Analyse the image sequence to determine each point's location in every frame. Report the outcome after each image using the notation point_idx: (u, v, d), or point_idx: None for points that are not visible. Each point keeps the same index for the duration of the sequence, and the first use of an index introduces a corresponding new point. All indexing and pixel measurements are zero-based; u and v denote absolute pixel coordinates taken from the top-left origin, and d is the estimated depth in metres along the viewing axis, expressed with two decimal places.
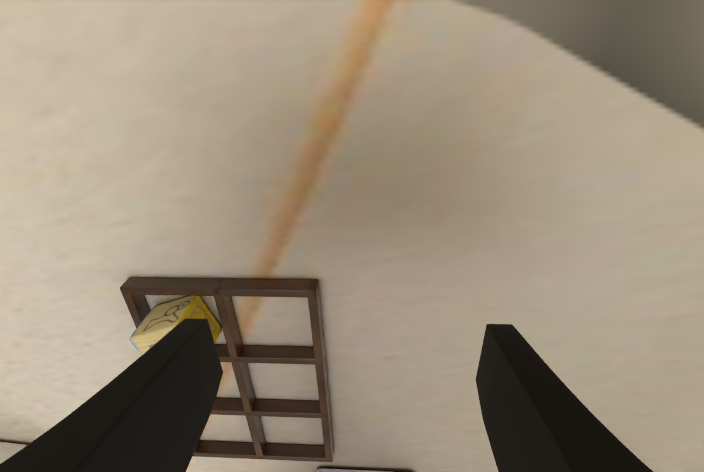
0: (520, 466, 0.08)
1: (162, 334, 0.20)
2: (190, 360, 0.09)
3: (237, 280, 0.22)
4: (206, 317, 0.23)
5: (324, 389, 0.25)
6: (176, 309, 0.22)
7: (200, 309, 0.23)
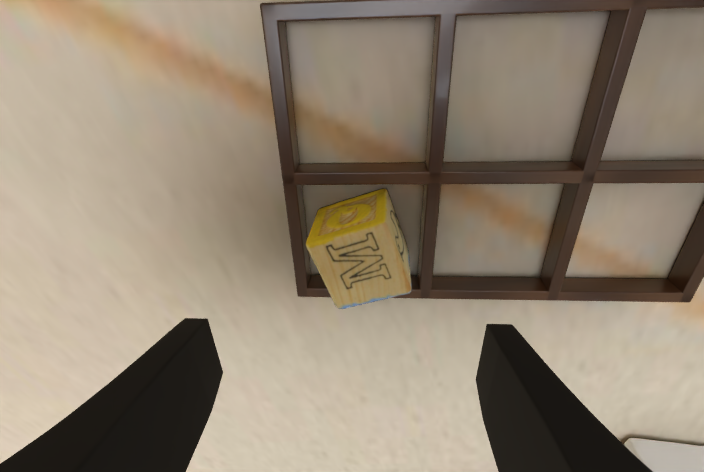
0: (520, 466, 0.08)
1: (322, 266, 0.14)
2: (190, 360, 0.09)
3: None
4: (351, 205, 0.15)
5: None
6: None
7: (335, 210, 0.15)
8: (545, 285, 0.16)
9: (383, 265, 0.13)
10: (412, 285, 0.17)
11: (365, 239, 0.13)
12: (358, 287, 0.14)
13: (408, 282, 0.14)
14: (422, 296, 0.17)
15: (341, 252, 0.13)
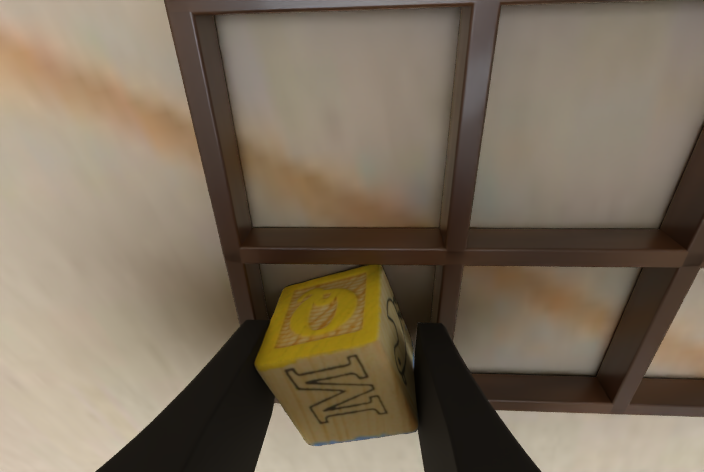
0: (434, 462, 0.08)
1: (281, 394, 0.09)
2: None
3: None
4: (329, 287, 0.10)
5: None
6: None
7: (305, 294, 0.10)
8: (606, 391, 0.12)
9: (374, 397, 0.09)
10: None
11: (345, 363, 0.08)
12: (336, 422, 0.09)
13: (414, 416, 0.09)
14: None
15: (308, 379, 0.08)
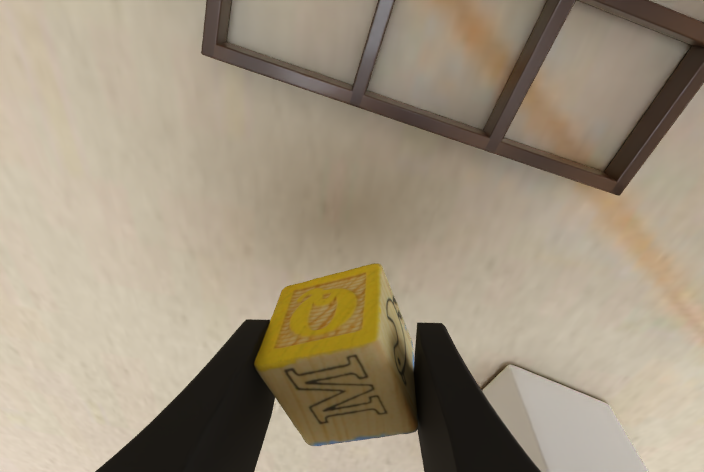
0: (433, 462, 0.08)
1: (281, 394, 0.09)
2: None
3: None
4: (329, 287, 0.10)
5: None
6: None
7: (305, 294, 0.10)
8: (487, 134, 0.14)
9: (374, 397, 0.09)
10: (344, 86, 0.14)
11: (345, 363, 0.08)
12: (336, 422, 0.09)
13: (413, 416, 0.09)
14: (352, 101, 0.14)
15: (307, 378, 0.08)
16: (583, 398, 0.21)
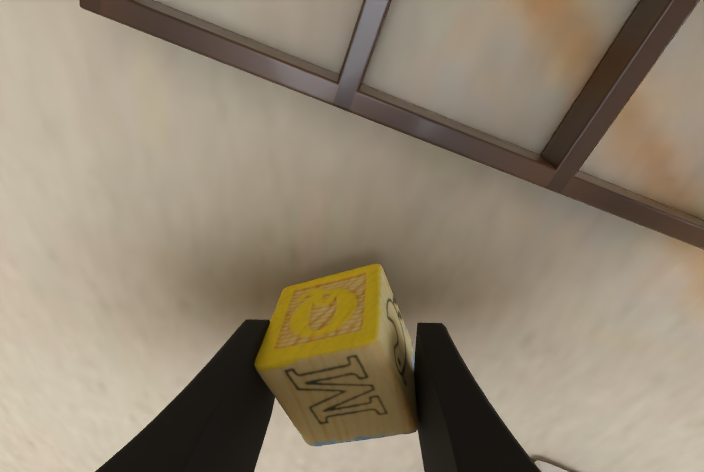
0: (434, 462, 0.08)
1: (281, 395, 0.09)
2: None
3: None
4: (329, 287, 0.10)
5: None
6: None
7: (305, 294, 0.10)
8: (550, 163, 0.09)
9: (374, 397, 0.09)
10: (325, 74, 0.08)
11: (345, 363, 0.08)
12: (336, 422, 0.09)
13: (413, 417, 0.09)
14: (337, 101, 0.08)
15: (308, 378, 0.08)
16: None
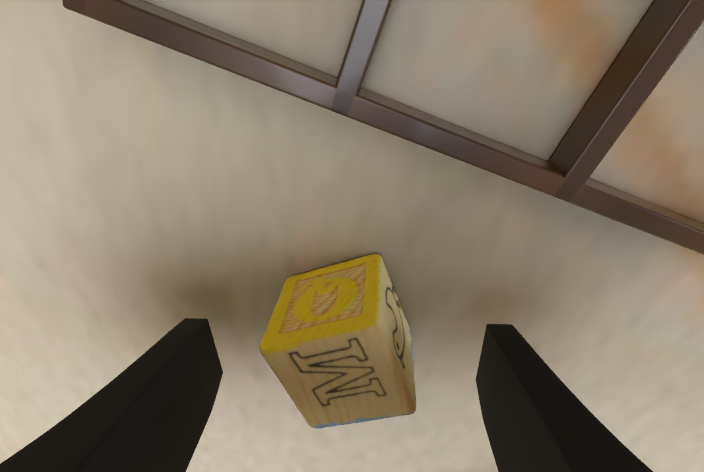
0: (520, 466, 0.08)
1: (285, 377, 0.09)
2: (190, 360, 0.09)
3: None
4: (330, 277, 0.11)
5: None
6: None
7: (308, 283, 0.11)
8: (558, 170, 0.09)
9: (374, 380, 0.09)
10: (323, 78, 0.08)
11: (347, 346, 0.09)
12: (338, 404, 0.10)
13: (411, 399, 0.09)
14: (335, 106, 0.08)
15: (311, 361, 0.09)
16: None
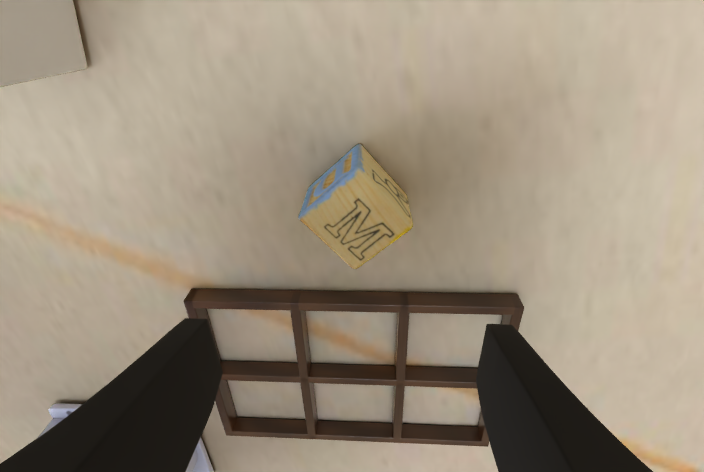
0: (520, 466, 0.08)
1: (391, 213, 0.14)
2: (190, 360, 0.09)
3: None
4: None
5: (356, 440, 0.24)
6: (397, 193, 0.15)
7: None
8: None
9: (337, 236, 0.14)
10: None
11: (363, 252, 0.15)
12: (348, 204, 0.14)
13: (305, 224, 0.14)
14: (406, 307, 0.18)
15: (379, 234, 0.14)
16: None
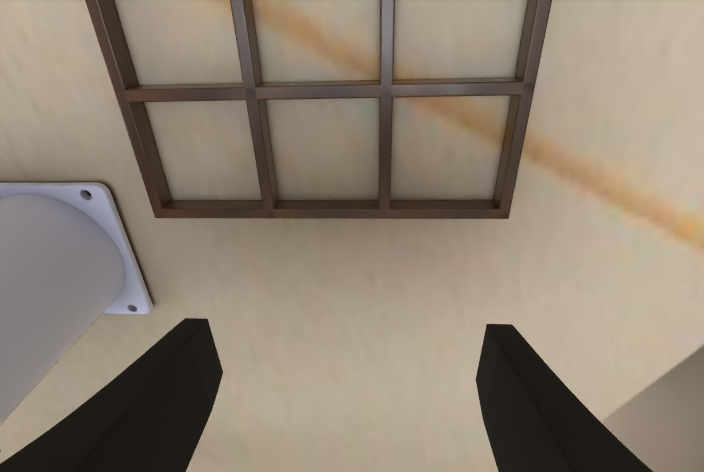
0: (520, 466, 0.08)
1: None
2: (190, 360, 0.09)
3: None
4: None
5: (329, 217, 0.18)
6: None
7: None
8: None
9: None
10: None
11: None
12: None
13: None
14: None
15: None
16: None
